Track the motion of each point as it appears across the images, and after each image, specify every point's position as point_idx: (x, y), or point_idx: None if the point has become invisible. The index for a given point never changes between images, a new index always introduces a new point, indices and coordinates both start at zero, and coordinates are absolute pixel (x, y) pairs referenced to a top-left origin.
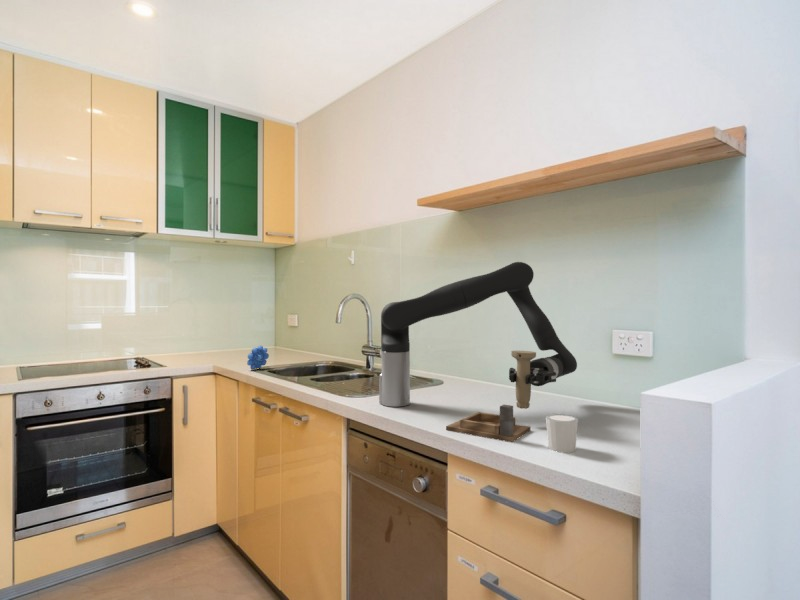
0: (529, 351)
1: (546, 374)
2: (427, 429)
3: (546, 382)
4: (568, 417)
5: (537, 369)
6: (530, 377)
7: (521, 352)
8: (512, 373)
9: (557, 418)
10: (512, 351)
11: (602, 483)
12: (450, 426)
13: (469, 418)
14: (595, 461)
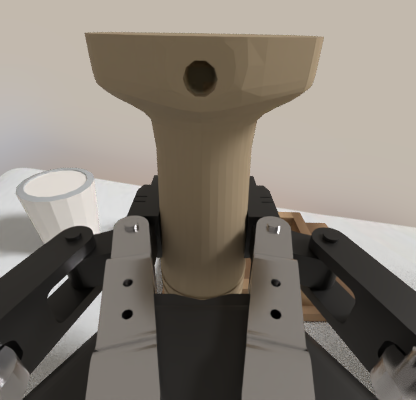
0: (163, 35)
1: (35, 255)
2: (349, 219)
3: (54, 299)
4: (37, 190)
5: (118, 339)
6: (146, 185)
7: (200, 33)
8: (255, 185)
9: (67, 179)
10: (284, 35)
11: (39, 171)
12: (317, 225)
13: (299, 231)
14: (22, 212)
